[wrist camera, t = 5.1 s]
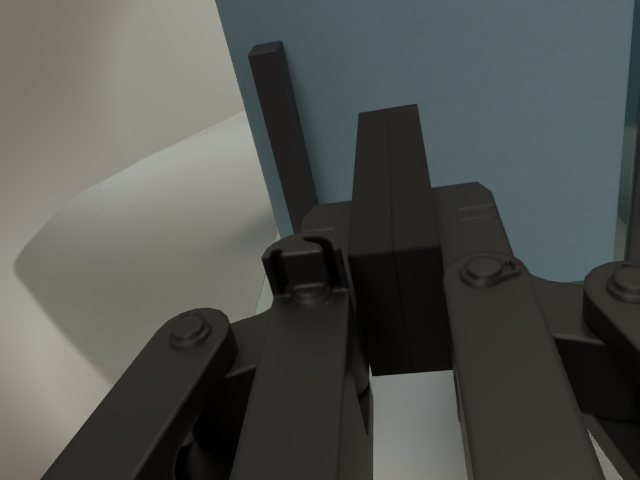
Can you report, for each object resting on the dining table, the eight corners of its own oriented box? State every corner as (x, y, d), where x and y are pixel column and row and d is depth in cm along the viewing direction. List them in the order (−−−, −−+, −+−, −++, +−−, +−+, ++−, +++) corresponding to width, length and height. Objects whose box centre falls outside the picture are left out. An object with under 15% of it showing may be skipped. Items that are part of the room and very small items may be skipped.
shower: (255, 347, 26) (84, -150, 16) (296, 184, 40) (216, -142, 30) (688, 307, 23) (801, -339, 13) (573, 145, 36) (587, -235, 27)
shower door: (296, 328, 25) (175, -99, 16) (301, 301, 26) (192, -102, 18) (623, 296, 22) (673, -218, 14) (607, 269, 24) (644, -210, 16)
